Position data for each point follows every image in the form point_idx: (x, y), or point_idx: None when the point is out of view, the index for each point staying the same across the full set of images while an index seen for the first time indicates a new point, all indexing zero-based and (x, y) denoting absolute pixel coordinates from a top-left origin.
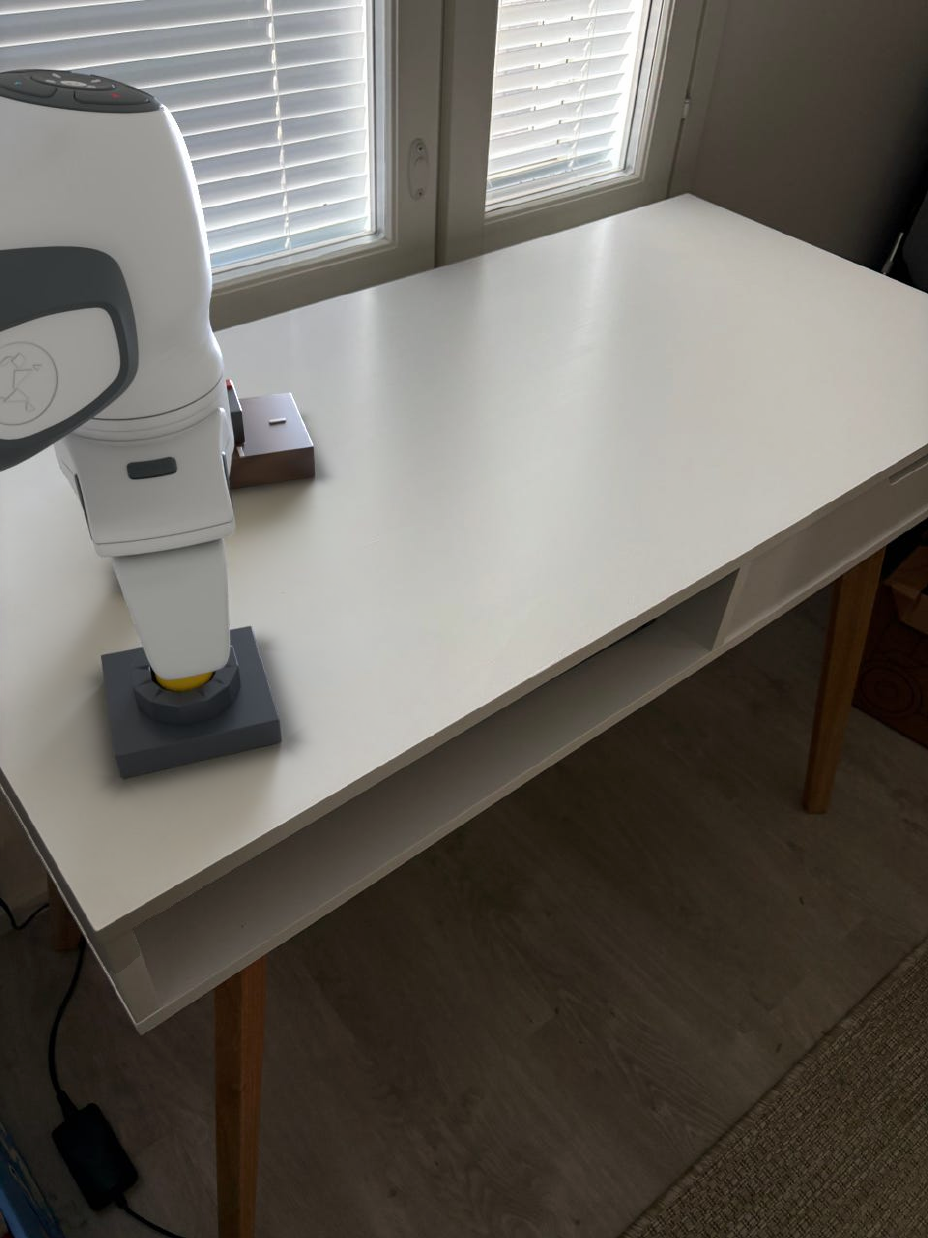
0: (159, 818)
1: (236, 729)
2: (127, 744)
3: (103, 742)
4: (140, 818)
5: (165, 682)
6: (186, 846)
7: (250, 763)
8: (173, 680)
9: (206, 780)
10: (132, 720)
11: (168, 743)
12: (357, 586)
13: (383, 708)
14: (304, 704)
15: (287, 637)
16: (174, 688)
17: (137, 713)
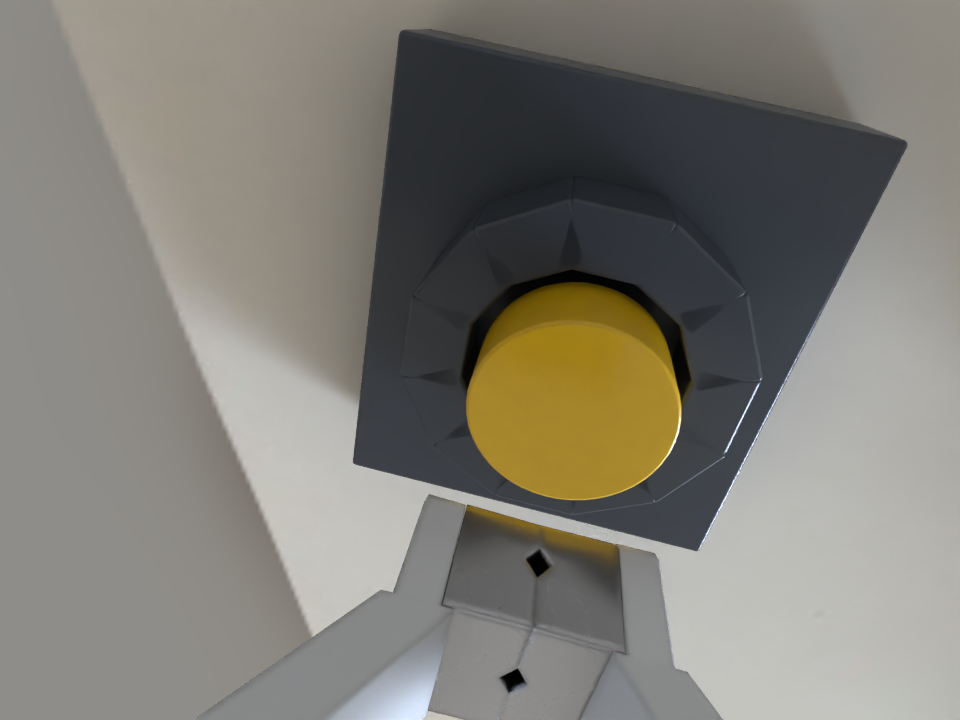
0: (262, 85)
1: (362, 376)
2: (430, 88)
3: (595, 22)
4: (277, 36)
5: (519, 307)
6: (162, 118)
7: (349, 340)
8: (493, 336)
9: (338, 236)
10: (524, 139)
11: (385, 206)
12: (722, 710)
13: (383, 588)
14: (460, 495)
15: (671, 557)
16: (500, 317)
17: (548, 164)
